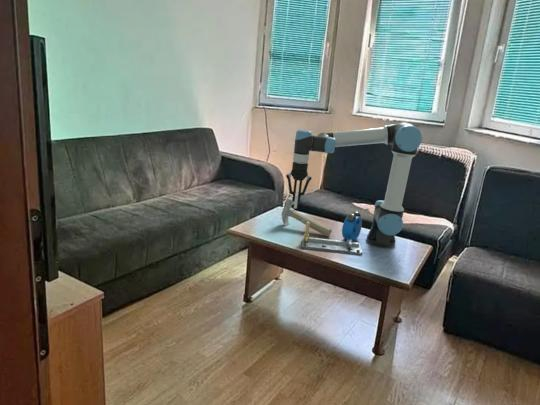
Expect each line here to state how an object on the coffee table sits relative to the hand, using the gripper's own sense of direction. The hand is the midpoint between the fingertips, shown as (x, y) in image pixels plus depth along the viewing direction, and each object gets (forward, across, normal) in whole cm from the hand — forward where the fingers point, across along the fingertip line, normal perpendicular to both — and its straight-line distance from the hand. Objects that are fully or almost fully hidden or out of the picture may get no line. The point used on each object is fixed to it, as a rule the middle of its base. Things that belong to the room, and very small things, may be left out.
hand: (295, 207), depth 225 cm
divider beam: (+17, -20, +2) cm, 27 cm away
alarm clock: (+18, -31, -12) cm, 38 cm away
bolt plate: (+18, -20, +3) cm, 27 cm away
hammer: (+19, -7, -19) cm, 27 cm away
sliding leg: (+17, -7, +2) cm, 18 cm away
